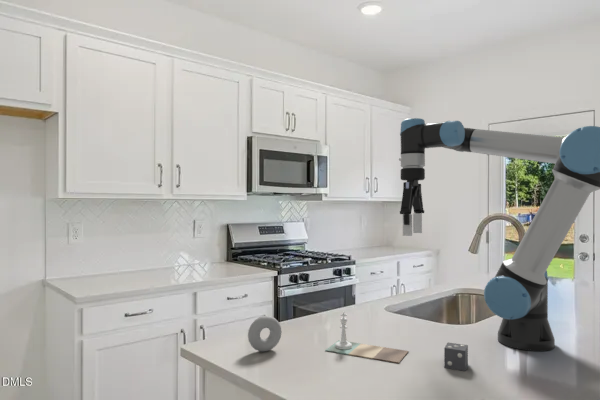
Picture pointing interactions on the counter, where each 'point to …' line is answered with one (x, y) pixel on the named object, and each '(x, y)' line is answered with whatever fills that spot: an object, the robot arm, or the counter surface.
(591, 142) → the robot arm
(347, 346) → the chess piece
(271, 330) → the donut
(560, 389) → the counter surface
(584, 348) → the counter surface
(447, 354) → the die
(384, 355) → the track
